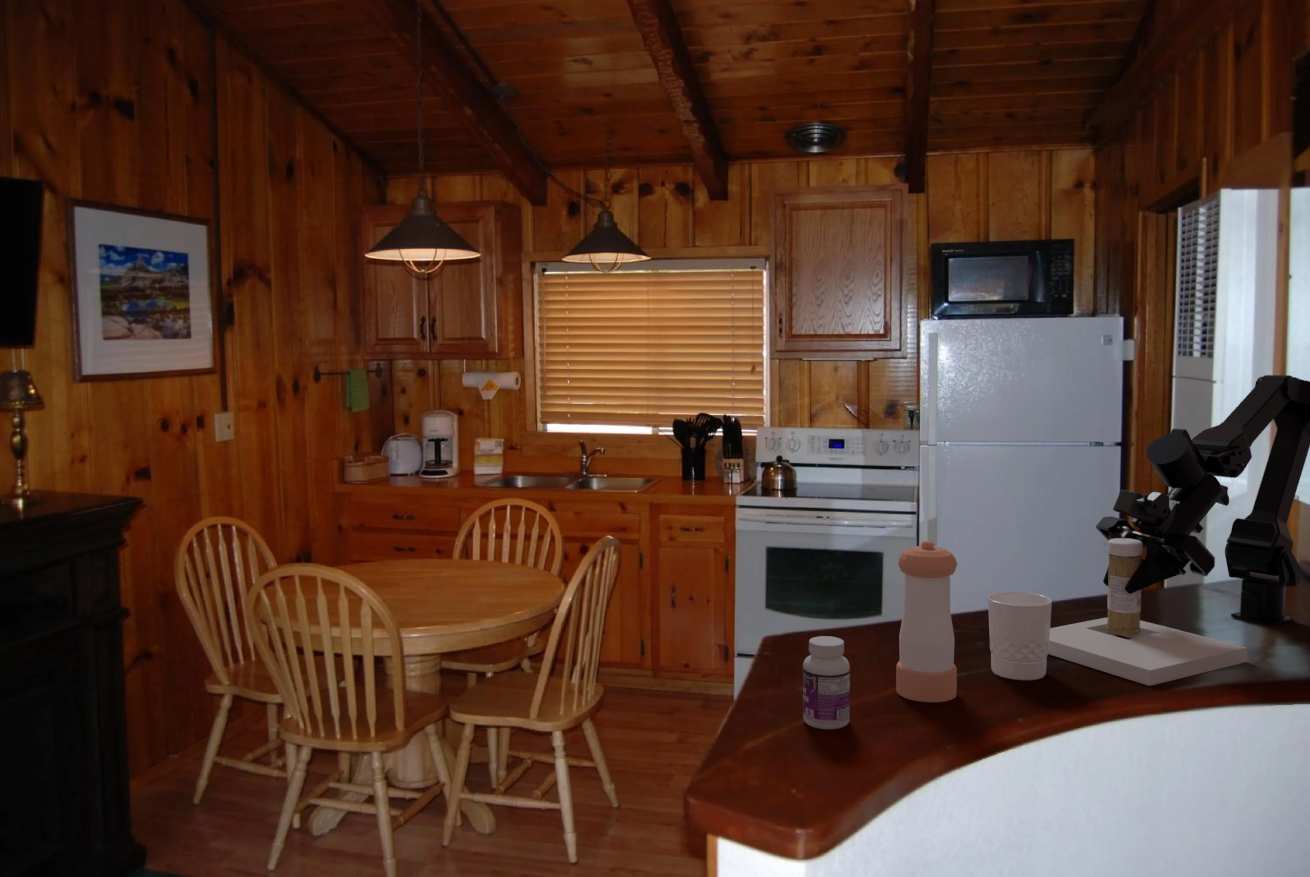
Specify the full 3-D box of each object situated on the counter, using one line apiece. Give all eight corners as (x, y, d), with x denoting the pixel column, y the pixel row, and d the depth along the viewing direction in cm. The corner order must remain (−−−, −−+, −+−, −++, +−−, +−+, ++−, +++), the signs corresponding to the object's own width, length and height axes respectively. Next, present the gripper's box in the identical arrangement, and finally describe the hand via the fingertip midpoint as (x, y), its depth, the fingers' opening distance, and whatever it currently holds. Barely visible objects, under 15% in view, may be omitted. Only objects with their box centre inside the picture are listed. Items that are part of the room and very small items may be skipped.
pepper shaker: (946, 706, 123) (948, 548, 121) (888, 696, 126) (889, 543, 125) (963, 689, 129) (965, 539, 127) (907, 680, 133) (908, 534, 131)
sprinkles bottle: (1115, 626, 151) (1117, 536, 149) (1146, 632, 147) (1148, 540, 146) (1100, 632, 148) (1101, 540, 146) (1131, 638, 144) (1133, 544, 143)
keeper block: (1118, 627, 156) (1119, 614, 156) (1246, 661, 138) (1247, 647, 138) (1025, 646, 147) (1025, 633, 146) (1149, 685, 129) (1149, 670, 129)
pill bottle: (798, 715, 120) (798, 634, 120) (842, 713, 121) (842, 633, 120) (809, 731, 115) (809, 647, 114) (855, 729, 115) (855, 646, 115)
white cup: (1049, 666, 137) (1050, 593, 137) (1051, 684, 130) (1053, 607, 129) (987, 661, 140) (988, 590, 139) (986, 679, 133) (987, 603, 132)
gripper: (1108, 463, 155) (1042, 539, 154) (1198, 478, 137) (1125, 564, 136) (1151, 511, 158) (1087, 587, 156) (1246, 532, 140) (1175, 618, 138)
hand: (1116, 588), depth 146 cm, fingers closed on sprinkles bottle, 4 cm apart
